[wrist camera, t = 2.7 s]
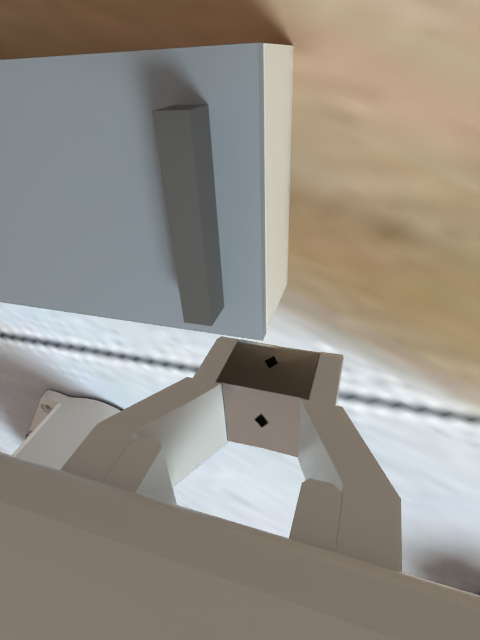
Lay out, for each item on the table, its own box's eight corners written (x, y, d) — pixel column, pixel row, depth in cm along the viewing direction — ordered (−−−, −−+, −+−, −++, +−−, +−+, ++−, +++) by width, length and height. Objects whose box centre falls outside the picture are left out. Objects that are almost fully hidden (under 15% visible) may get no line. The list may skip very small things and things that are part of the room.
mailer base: (293, 45, 20) (265, 42, 15) (287, 283, 28) (267, 330, 23) (-8, 64, 25) (-97, 67, 21) (57, 259, 33) (3, 293, 29)
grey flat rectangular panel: (263, 43, 15) (242, 41, 13) (266, 332, 23) (253, 362, 21) (-102, 67, 21) (-161, 69, 18) (0, 295, 28) (-32, 315, 26)
